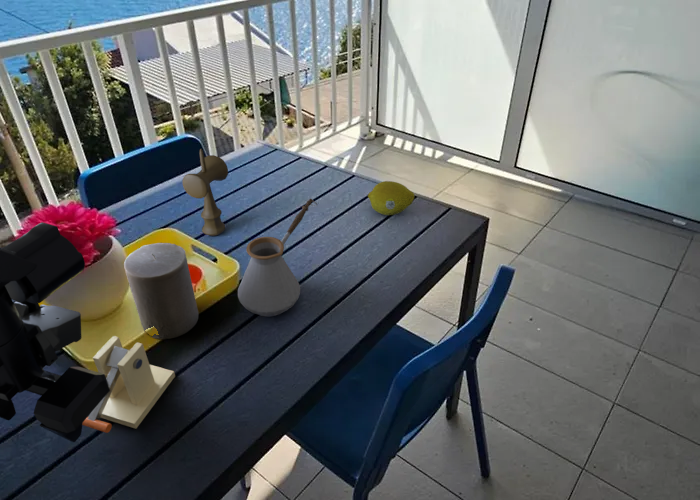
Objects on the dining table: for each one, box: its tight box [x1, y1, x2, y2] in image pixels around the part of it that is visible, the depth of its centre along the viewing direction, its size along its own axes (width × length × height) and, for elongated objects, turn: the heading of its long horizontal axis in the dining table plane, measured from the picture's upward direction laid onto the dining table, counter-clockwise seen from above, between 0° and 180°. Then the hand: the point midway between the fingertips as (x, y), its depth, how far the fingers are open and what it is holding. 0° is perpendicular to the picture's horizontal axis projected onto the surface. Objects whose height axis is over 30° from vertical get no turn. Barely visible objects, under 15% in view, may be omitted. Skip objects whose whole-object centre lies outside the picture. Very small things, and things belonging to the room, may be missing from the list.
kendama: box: [182, 148, 229, 237], centre depth 106 cm, size 6×10×20 cm, turn 164°
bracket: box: [92, 335, 176, 430], centre depth 73 cm, size 10×8×10 cm
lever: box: [82, 346, 131, 434], centre depth 70 cm, size 11×6×2 cm, turn 162°
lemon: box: [367, 180, 415, 216], centre depth 118 cm, size 11×8×8 cm
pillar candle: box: [123, 242, 199, 340], centre depth 85 cm, size 10×10×15 cm
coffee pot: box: [237, 198, 318, 317], centre depth 93 cm, size 21×12×15 cm, turn 151°
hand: (43, 427), depth 58 cm, fingers open, 9 cm apart
